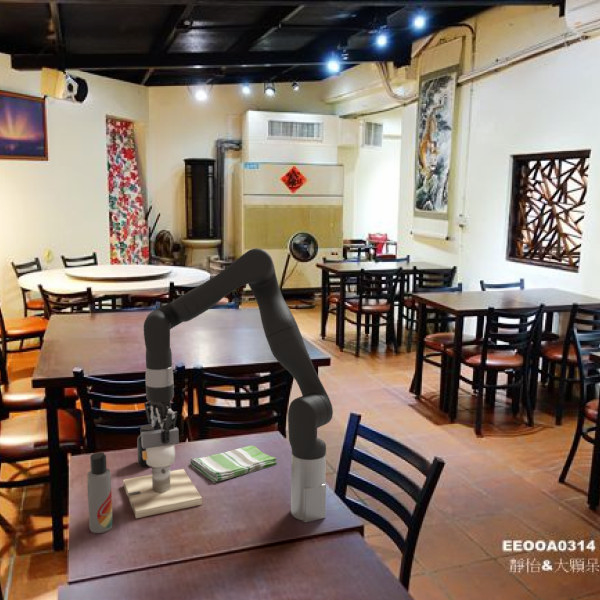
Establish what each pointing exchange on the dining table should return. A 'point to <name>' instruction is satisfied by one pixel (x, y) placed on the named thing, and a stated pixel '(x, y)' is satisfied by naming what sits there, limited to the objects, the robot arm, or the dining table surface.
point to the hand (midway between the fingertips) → (161, 440)
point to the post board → (161, 492)
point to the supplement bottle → (139, 445)
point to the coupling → (159, 448)
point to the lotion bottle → (99, 494)
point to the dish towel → (232, 463)
